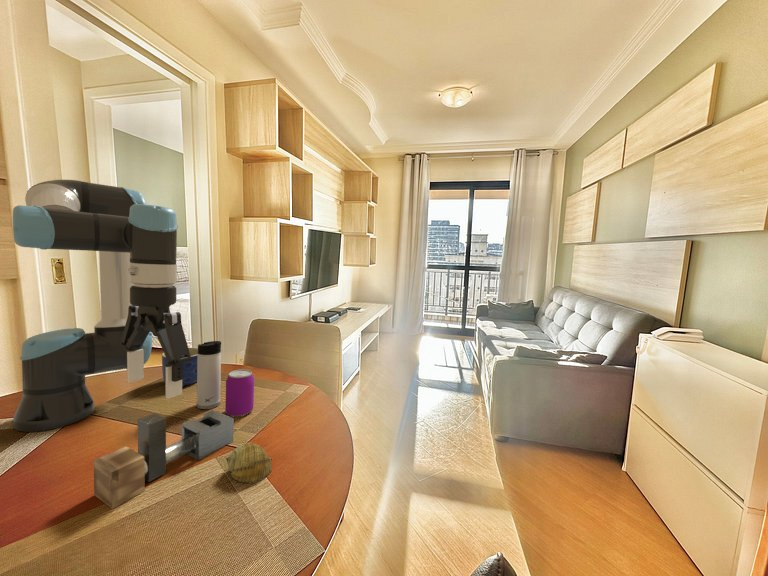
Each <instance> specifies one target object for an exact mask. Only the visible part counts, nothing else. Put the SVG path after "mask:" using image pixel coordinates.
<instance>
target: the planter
mask: <svg viewBox="0 0 768 576" xmlns="http://www.w3.org/2000/svg"><path fill="white" fill-rule="evenodd" d="M188 349H189V352H190V356H191V361H189V362H185V363H183V372H182V373H183V374H182V375H183V378H182V387H184V386H185V387H186V386H189V385H192V384H193V385H194V383H197V360H198V347H188ZM167 363H168V361H167V358H166V356H165V354H164V352H162V354H161V364H162V365H161V368H162V377H163V382H164V383H165V384H166V366H165V365H166V364H167Z"/></svg>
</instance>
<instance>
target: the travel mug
mask: <svg viewBox="0 0 768 576" xmlns="http://www.w3.org/2000/svg"><path fill="white" fill-rule="evenodd" d="M197 348H198V360H197V382H196V383H197V384H196V385H197V386H196V390H197V391H196V406H197V408H198V409H200V410H210V409H214V408H216V406H217V407H218V406H219V405H221V382H222V381H221V380H222V379H221V376H222V375H221V374H222V373H221V372H222V371H221V369H222V367H221V366H222V349H221V348H222V341H219V340H212V341H207V342H206V341H205V342H203V343H200V344H197Z"/></svg>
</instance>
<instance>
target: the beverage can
mask: <svg viewBox="0 0 768 576" xmlns="http://www.w3.org/2000/svg"><path fill="white" fill-rule="evenodd" d="M254 397H255V378H254V374H253V372H252V370H250V369H243V368H241V369H236V370H231V371H230V372H229V373H228V375H227V378H226V380H225V414H226V415H227V416H229V415H230V416H229V417H232V416H234V417H233V418H239V417H238V416H241V417H243V415H245V416H246V414H247V415H248V413H249V412H250V413H251V412H252V411H253V409H254V406H255V405H254V403H255V399H254ZM250 413H249V414H250Z"/></svg>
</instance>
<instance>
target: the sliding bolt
mask: <svg viewBox="0 0 768 576" xmlns="http://www.w3.org/2000/svg"><path fill="white" fill-rule="evenodd" d="M166 434H167V418H166V417H163V416H162V415H160V414H157V413H155V412H154V413H152V414H149V415H146V416H144V417H141V418H137V453H139V454H140V455H142V456H144V467H145V482H148V483H150V482H152V481H154V480H155V479H157V478H159V477H161V476H163V475H164V474H166V473H167V468H166V467H167V464H168V463H170V462H172V461H174V460H177V459H178V458H180V457H182V456H184V455H185V454H186V453H188V452H190V451H192V450H193V449H195V448H196V435H194V434H192V435H190V436H188V437H186V438H184V439H182V440H181V439H180V440H177V441H176V442H173V443H171V444H169V445H167V435H166ZM186 455H187V454H186Z"/></svg>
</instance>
